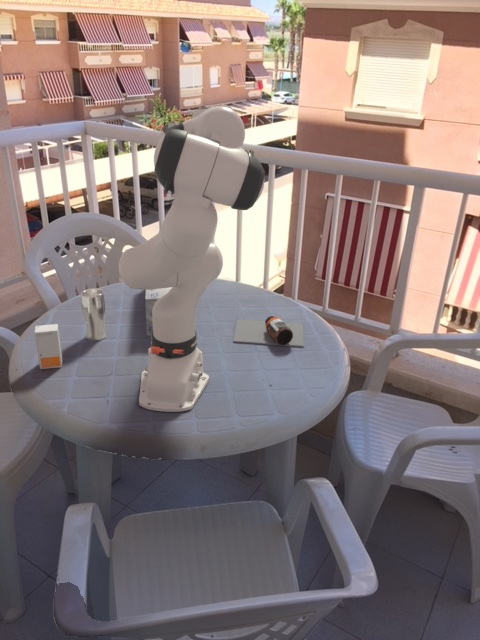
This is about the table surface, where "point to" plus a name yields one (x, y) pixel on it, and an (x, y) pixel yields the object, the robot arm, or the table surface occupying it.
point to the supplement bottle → (278, 330)
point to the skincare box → (48, 346)
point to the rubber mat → (265, 333)
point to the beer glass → (94, 313)
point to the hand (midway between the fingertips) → (206, 215)
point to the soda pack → (149, 302)
